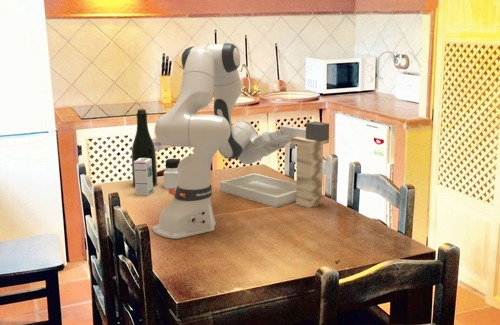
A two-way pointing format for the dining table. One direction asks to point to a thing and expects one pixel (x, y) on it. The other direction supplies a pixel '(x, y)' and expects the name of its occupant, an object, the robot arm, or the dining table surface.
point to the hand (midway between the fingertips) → (289, 130)
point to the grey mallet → (308, 131)
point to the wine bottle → (143, 144)
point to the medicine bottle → (171, 173)
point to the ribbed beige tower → (309, 171)
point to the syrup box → (143, 176)
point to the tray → (261, 189)
